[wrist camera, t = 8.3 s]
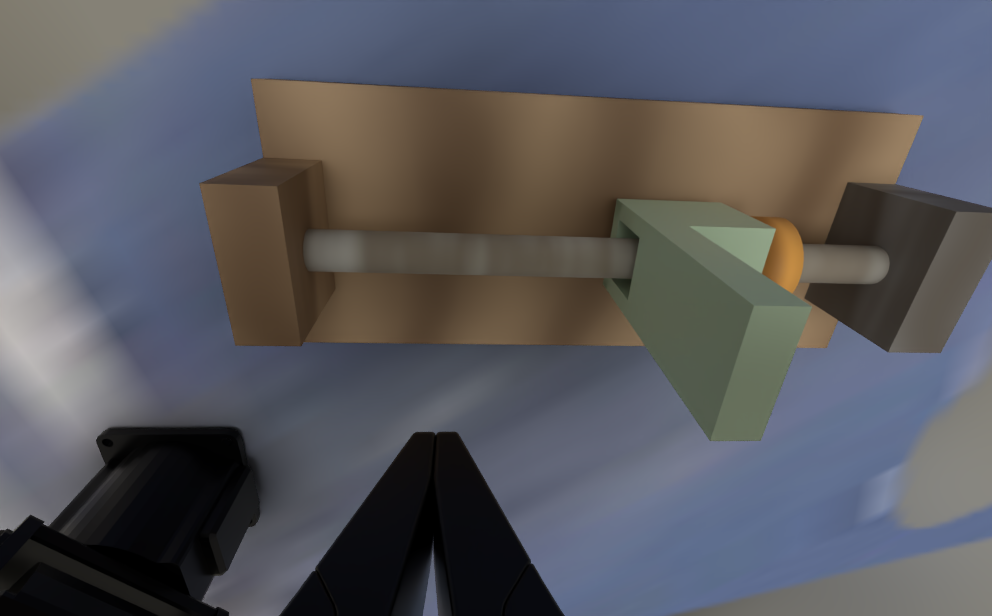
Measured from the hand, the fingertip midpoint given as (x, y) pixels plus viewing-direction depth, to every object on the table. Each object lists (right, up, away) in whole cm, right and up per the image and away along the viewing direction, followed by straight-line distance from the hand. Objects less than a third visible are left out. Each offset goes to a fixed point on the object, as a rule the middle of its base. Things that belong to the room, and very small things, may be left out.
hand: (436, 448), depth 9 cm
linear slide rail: (+5, +6, +11) cm, 13 cm away
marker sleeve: (+8, +5, +9) cm, 13 cm away
